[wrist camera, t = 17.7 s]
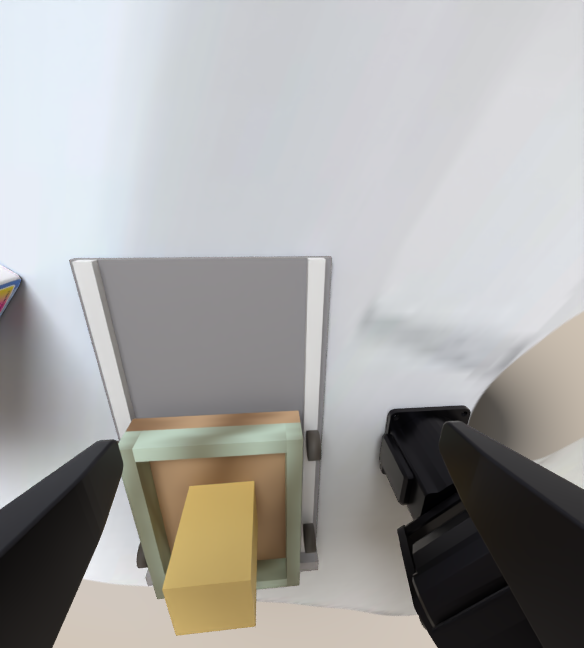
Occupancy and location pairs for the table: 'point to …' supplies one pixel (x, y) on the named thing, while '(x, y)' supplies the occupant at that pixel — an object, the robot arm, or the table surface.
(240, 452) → the cart
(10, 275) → the ink cartridge box
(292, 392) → the track
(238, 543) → the ochre block
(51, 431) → the table surface
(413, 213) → the table surface
